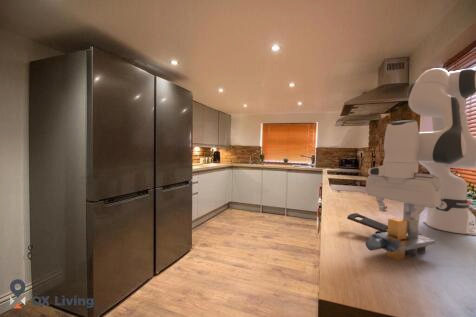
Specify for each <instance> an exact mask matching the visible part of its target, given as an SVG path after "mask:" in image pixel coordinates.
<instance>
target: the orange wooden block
mask: <svg viewBox="0 0 476 317" xmlns="http://www.w3.org/2000/svg"><path fill="white" fill-rule="evenodd" d="M387 226H388V229H387V230H388V236H391V237H394V238H397V239H399V240H401V241H405V240H406V220H403V218H399V217H392V218H388V220H387ZM386 257H389V259H392V260H395V261H399V260H404V259H405V257H406V255H405V251H396V252H389V251H387V250H386Z"/></svg>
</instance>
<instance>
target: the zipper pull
mask: <svg viewBox="0 0 476 317" xmlns="http://www.w3.org/2000/svg"><path fill="white" fill-rule="evenodd" d="M357 218H359V219H357ZM346 219H347V220H350V221H352V222H356V223H357V224H361V225H363V226H366V227H369V228H371V229H374V230H377V231H375V232H374V234H377V233H383V232H388V224H385V223H382V222H379V221H377V220H375V219H372V218H370V217H367V216H364V215H363V214H360V213H357V212H356V213H355V212H353V213H351V214H349V215H347V218H346ZM418 235H421V236H423V235H422V234H421V233H418ZM426 247H427V246H424V247H419V248H417V254H422V253H425V251H426V250H427V249H426Z"/></svg>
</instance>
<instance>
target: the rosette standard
mask: <svg viewBox="0 0 476 317" xmlns="http://www.w3.org/2000/svg"><path fill="white" fill-rule="evenodd" d="M416 210H417V209H415V205H414V204H409V203H404V202H403V215H402V216H403V217H402V219H403V220H406V240H405V241H401V240H399V239H397V238H394V237H391V236H388V232H383V233H377V234H375V233H371V234H369V238H368V239H366V240H365V243H364V244H365V247H366V248H367V249H368V250H369V251H376V250H381V249H383V250H384V251H386V252H387V251H389V252H396V251H405V256H408V257H413V258H414V257H415V258H416V257H418V253H417V248H419V247H424V246H426V247H427V246H432V245H433V246H434V245H436V243H437V242H436V241H437V240H436V239H434V238H430V237H427V236H424V235H422V234H421V235H422V236H421V235H418V234H419V224H420V219H419V220H413V219H411V218H410V217H411V216H410V213H414V212H415V211H416Z"/></svg>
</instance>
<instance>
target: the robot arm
mask: <svg viewBox="0 0 476 317" xmlns="http://www.w3.org/2000/svg"><path fill="white" fill-rule="evenodd" d="M475 93H476V69H474V68H463V69H460V70H455V71H449V72H448V71H447V70H446V69H444V68H438V67H437V68H431V69H428V70H425V71H424V72H423V73H422V74H421V75H420V76H419V77H418V78H417V80H416V81H413V82H412V83H410V85H409V86H408V88H407V98H408V101H407V102H408V108H410V110H411V111H412V112H414V113H416V114H417V115H420V116H423V117H431V122H432V131H424V132H423V131H421V132H420V131H419V125H418V122H417V120H414V119H407V120H397V121H392V122H389V123H388V124H387V125H386V130H385V135H384V138H383V141H384V142H383V150H384V158H383V160H382V164H381V165H379V166H375V167H370V168H368V169H367V174H368V176H367V177H366V181H365V192H366V194H367V195H368V196H371V197H374V198H376V199H375V200H376V203H377V205H378V206H379V207H378V212H383V213H385V212H388V206H387V205H385V203H384V201H385V200H391V201H394V202H400V203H403V204H404V203H409V204H414V205H415V209H417V210H416V211H415V212H414V213H410V216H411V217H410V218H411V219H413V220H419V221H420V217H421V216H420V215H421V214H422V212H423V211H424V210H425V208H427V212H426V219H423V223H424V224H426V225H427V226H428V227H430V228H433V229H436V230H439V231H440V230H441V231H444V232H449V233H454V234H455V233H456V234H464V235H471V236H476V216H475V215H474V214H473V212H472V211H471V210H470V209H469V207H470V206H469V205H471V203H472V201H471V200H470V199H467V197H468V196H467V194H468V184H467V182H466V180H465V179H464V178H462V177H461V176H459V175H458V176H457V175H456V174H453V173H452V171H451V169H452V168H453V169H468V170H469V169H476V137H475V136H474V135H473V134H472V132H471V130H470V128H469V124H468V114H467V113H468V112H467V105H466V104H467V103H466V99H468V98H469V97H470V96H474V94H475ZM419 164H420V165H421V166H422V167H424V168H425V169H426V170H427V171H428V172H429V173H421V172H419Z"/></svg>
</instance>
